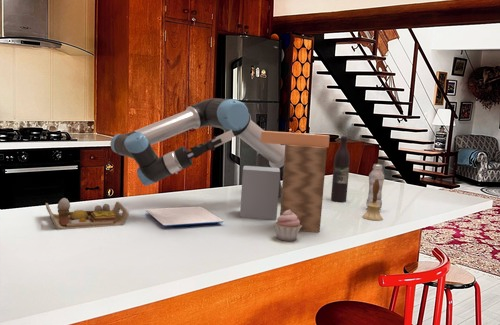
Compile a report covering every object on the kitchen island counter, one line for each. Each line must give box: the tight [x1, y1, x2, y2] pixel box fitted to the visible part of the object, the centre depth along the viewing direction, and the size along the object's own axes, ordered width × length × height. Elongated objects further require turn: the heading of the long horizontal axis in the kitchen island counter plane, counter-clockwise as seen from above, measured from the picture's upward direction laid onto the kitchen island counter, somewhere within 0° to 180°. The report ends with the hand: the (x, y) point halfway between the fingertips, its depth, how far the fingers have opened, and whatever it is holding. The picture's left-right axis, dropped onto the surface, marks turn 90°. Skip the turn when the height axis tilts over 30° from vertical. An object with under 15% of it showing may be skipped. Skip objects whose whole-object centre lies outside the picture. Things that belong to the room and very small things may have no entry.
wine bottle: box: [330, 135, 351, 203], centre depth 234 cm, size 7×7×30 cm
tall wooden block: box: [279, 144, 328, 233], centre depth 183 cm, size 14×10×30 cm
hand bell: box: [362, 179, 384, 222], centre depth 205 cm, size 8×8×16 cm
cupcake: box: [273, 210, 302, 242], centre depth 169 cm, size 9×9×10 cm
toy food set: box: [45, 197, 130, 230], centre depth 175 cm, size 25×18×8 cm
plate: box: [145, 206, 225, 227], centre depth 185 cm, size 22×22×2 cm
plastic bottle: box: [365, 163, 385, 210], centre depth 221 cm, size 6×7×20 cm
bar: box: [261, 130, 331, 148], centre depth 181 cm, size 24×4×4 cm, turn 88°
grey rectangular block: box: [239, 165, 281, 221], centre depth 197 cm, size 14×10×18 cm
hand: (231, 134), depth 181 cm, fingers open, 13 cm apart
